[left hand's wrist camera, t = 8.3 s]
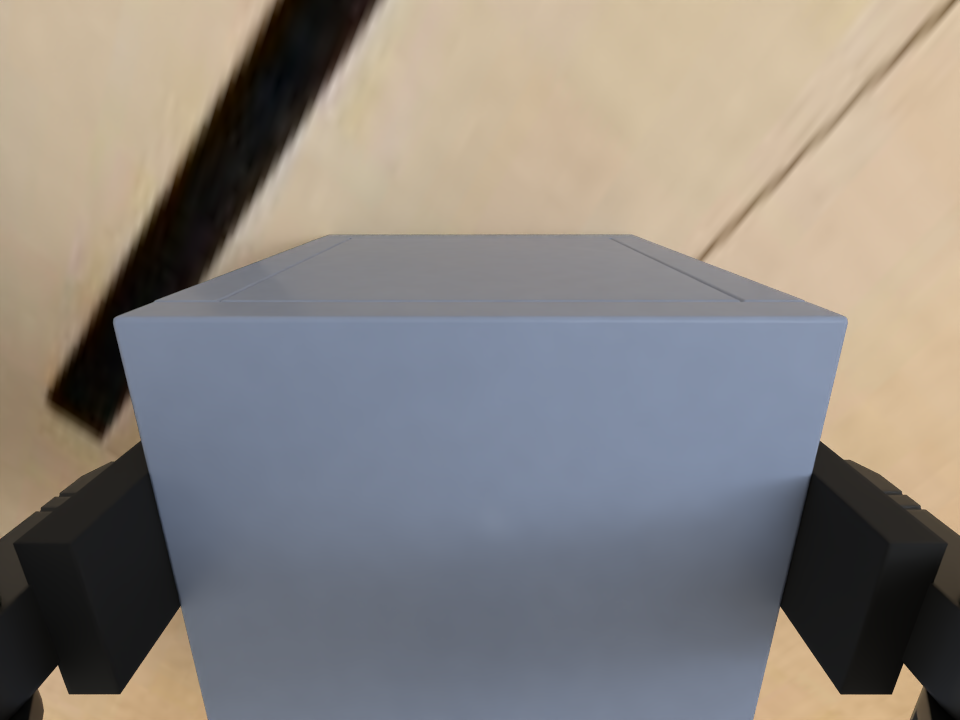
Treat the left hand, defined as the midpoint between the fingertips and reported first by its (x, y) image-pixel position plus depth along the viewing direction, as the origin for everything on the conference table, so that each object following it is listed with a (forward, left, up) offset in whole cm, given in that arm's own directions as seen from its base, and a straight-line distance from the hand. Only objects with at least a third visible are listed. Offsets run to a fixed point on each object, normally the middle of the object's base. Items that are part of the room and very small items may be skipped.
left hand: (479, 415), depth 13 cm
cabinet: (+5, -1, -6) cm, 8 cm away
